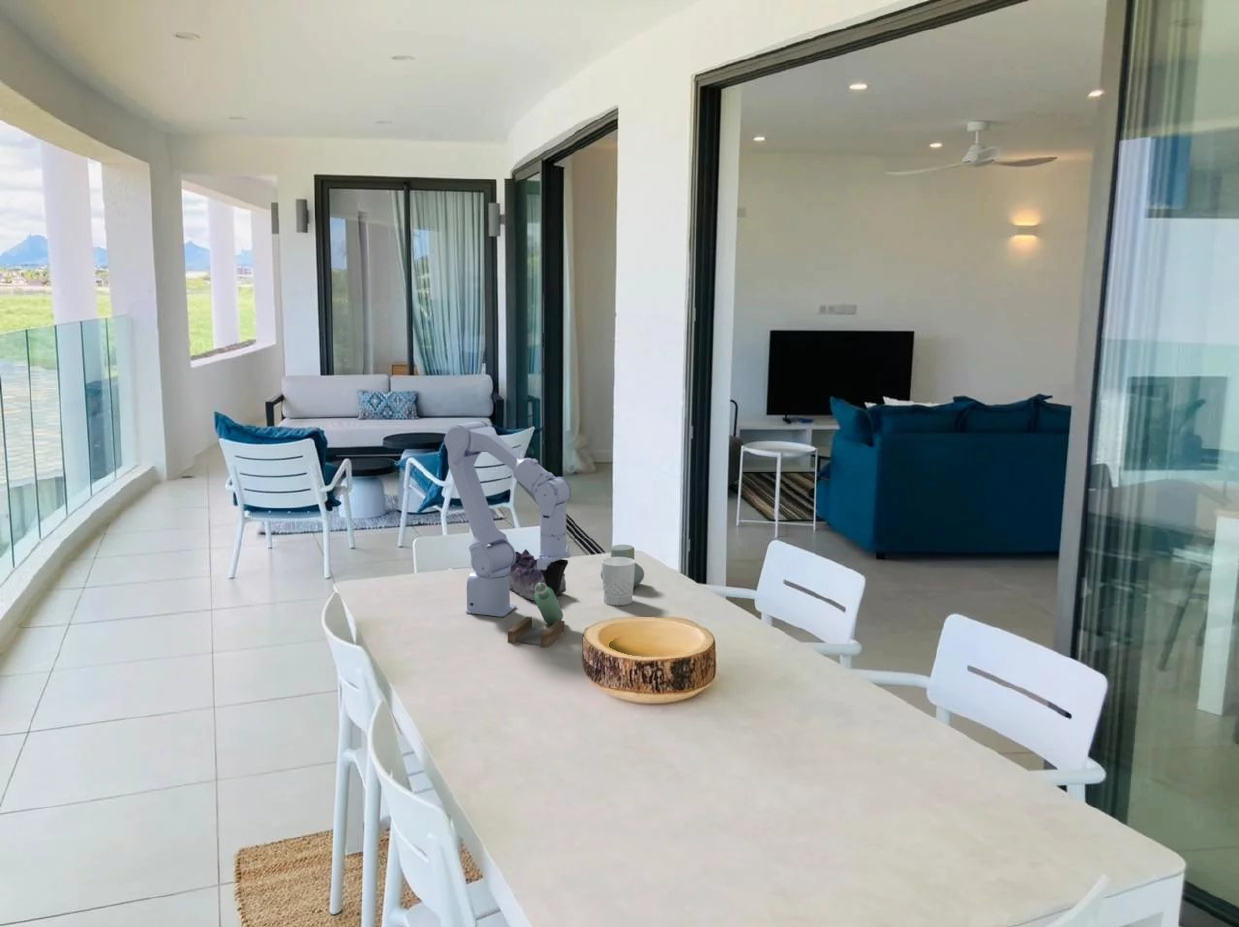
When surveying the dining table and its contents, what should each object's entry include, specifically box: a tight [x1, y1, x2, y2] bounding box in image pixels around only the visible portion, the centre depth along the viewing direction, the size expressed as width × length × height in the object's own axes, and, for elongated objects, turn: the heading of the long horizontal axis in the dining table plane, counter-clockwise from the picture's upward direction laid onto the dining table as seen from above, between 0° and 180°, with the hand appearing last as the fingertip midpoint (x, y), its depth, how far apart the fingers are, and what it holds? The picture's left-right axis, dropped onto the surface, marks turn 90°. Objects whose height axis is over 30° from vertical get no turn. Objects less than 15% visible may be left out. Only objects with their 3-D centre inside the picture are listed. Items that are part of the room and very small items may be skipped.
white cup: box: [601, 556, 636, 607], centre depth 240 cm, size 8×8×10 cm
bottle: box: [534, 583, 564, 626], centre depth 221 cm, size 4×4×12 cm
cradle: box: [507, 616, 565, 648], centre depth 216 cm, size 9×10×2 cm
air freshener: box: [600, 544, 645, 587], centre depth 254 cm, size 11×8×10 cm
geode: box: [509, 548, 567, 601], centre depth 249 cm, size 20×12×10 cm, turn 38°
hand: (553, 592), depth 224 cm, fingers closed
